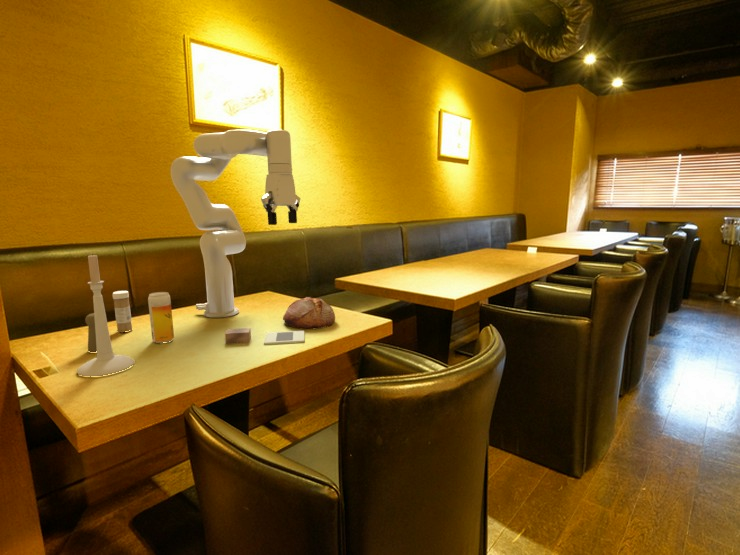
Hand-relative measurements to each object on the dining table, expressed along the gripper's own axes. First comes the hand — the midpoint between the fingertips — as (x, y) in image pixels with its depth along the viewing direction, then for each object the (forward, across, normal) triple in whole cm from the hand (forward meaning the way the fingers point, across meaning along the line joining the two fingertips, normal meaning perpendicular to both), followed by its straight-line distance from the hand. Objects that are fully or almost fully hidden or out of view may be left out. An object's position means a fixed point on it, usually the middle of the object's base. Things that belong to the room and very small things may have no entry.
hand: (283, 223), depth 140 cm
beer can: (+35, +31, -23) cm, 52 cm away
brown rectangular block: (+35, +20, -3) cm, 40 cm away
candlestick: (+35, +52, -16) cm, 65 cm away
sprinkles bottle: (+34, +31, -44) cm, 64 cm away
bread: (+35, -7, +4) cm, 36 cm away
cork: (+35, +45, -32) cm, 66 cm away
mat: (+35, +11, +8) cm, 37 cm away
